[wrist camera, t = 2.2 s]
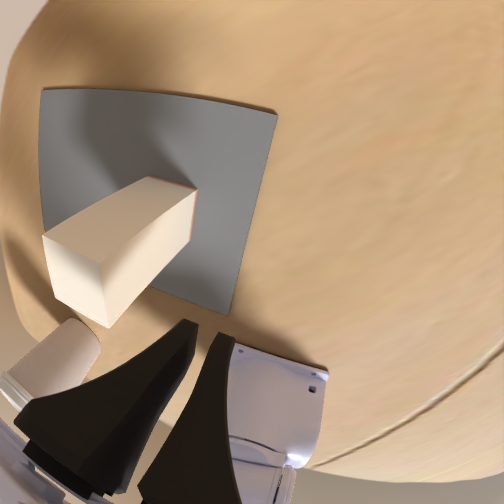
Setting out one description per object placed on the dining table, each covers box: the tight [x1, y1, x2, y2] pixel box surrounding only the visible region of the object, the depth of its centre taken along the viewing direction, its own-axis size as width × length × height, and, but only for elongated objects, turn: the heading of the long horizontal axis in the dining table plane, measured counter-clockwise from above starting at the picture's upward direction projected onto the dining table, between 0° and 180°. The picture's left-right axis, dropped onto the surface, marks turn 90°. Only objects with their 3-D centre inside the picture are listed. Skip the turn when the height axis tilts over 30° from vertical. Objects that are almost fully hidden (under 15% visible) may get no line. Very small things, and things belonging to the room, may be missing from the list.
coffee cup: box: [0, 318, 101, 412], centre depth 27 cm, size 10×10×15 cm
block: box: [42, 176, 198, 329], centre depth 16 cm, size 4×4×10 cm
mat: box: [39, 89, 278, 316], centre depth 21 cm, size 22×16×1 cm
